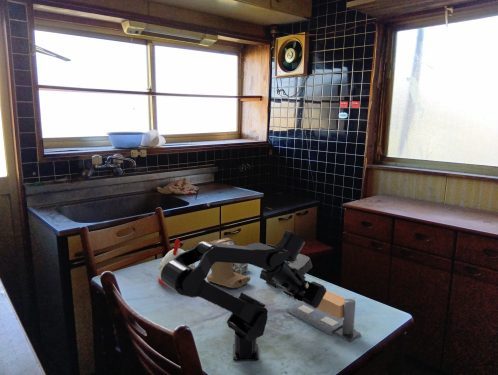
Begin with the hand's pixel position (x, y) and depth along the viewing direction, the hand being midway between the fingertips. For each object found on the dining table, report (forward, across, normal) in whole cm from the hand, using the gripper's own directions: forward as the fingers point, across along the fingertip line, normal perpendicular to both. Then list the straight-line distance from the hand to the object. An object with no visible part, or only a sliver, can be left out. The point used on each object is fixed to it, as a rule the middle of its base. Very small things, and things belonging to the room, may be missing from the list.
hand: (307, 298), depth 113 cm
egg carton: (+11, +43, 0) cm, 45 cm away
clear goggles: (+12, +56, -2) cm, 58 cm away
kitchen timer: (-5, +50, +16) cm, 53 cm away
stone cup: (+3, +36, +8) cm, 37 cm away
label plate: (+8, -1, +2) cm, 8 cm away
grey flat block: (+7, -12, +3) cm, 15 cm away
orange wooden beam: (+7, -2, +2) cm, 7 cm away
